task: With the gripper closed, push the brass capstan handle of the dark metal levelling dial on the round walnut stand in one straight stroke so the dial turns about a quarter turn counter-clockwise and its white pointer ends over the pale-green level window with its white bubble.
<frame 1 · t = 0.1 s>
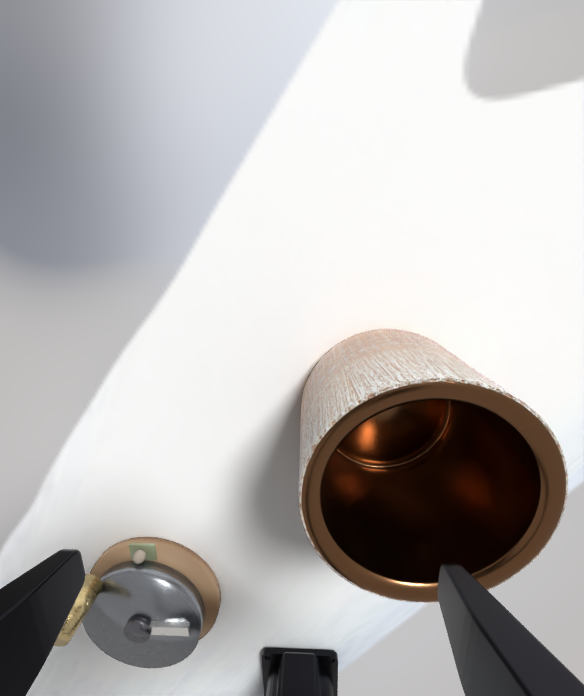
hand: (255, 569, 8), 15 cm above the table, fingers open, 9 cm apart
stand: (156, 590, 28), on the table
planter: (380, 402, 23), on the table
dial: (133, 639, 24), point 4 cm above the table, hinge at 0.0°
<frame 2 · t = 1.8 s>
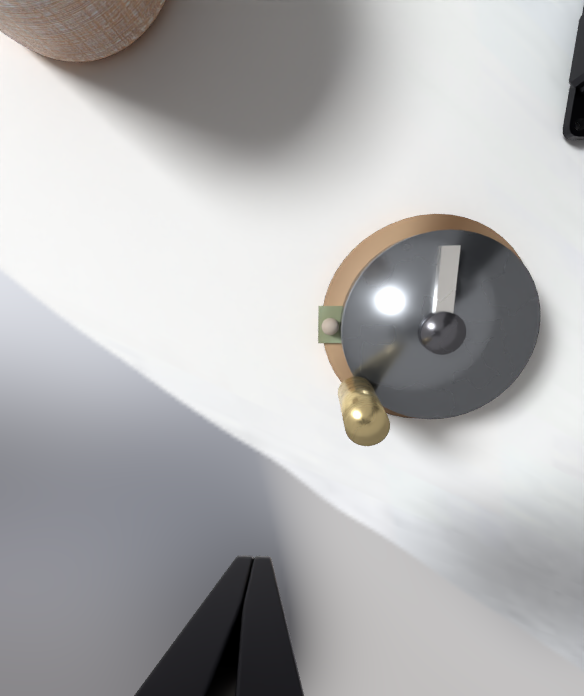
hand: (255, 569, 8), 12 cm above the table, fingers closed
stand: (420, 321, 18), on the table
dial: (446, 335, 15), point 4 cm above the table, hinge at 0.0°
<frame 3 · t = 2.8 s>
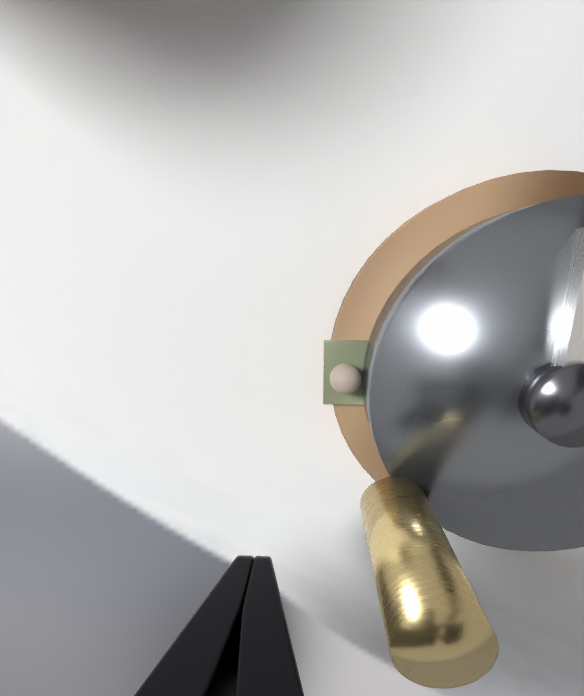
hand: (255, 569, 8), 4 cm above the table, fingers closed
stand: (499, 364, 11), on the table
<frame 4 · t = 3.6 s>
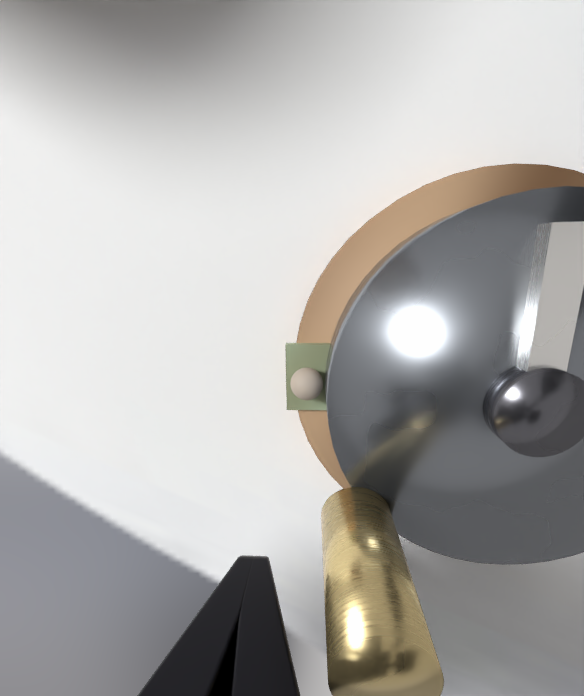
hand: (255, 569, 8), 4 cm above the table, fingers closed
stand: (471, 367, 10), on the table
dial: (558, 425, 7), point 4 cm above the table, hinge at 0.1°, touching gripper
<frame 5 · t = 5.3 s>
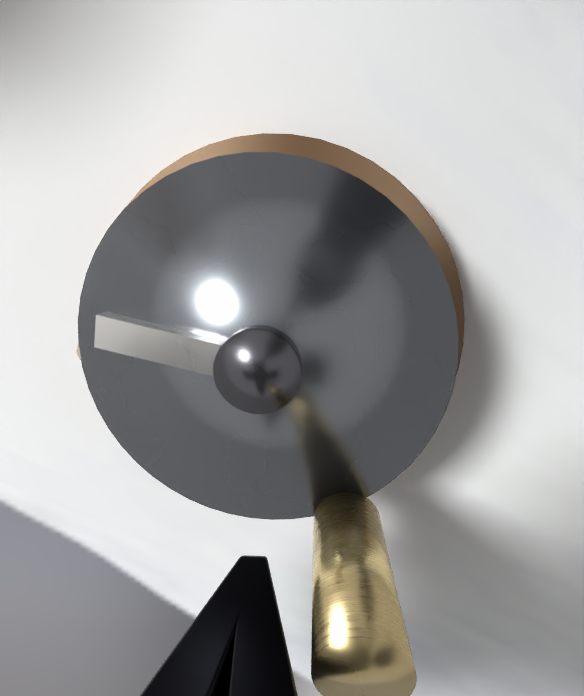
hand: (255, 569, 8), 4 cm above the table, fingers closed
stand: (274, 337, 11), on the table
dial: (251, 384, 7), point 4 cm above the table, hinge at 75.9°, touching gripper
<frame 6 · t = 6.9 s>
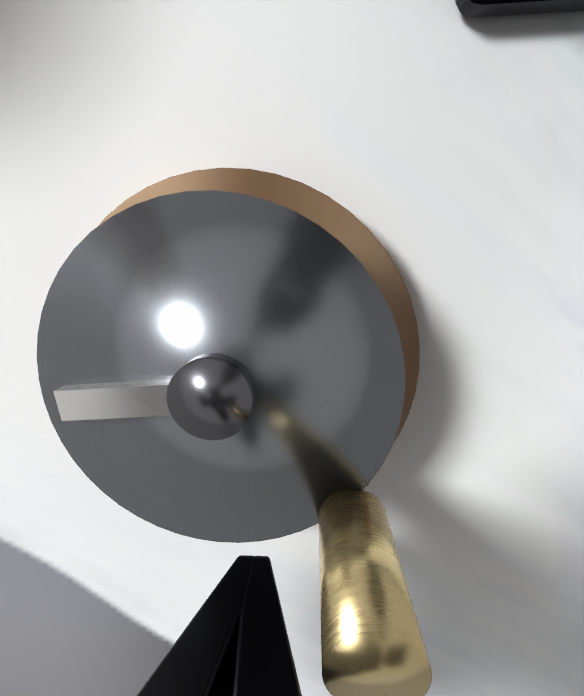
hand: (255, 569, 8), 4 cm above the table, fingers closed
stand: (239, 360, 11), on the table
dial: (202, 413, 7), point 4 cm above the table, hinge at 94.0°, touching gripper
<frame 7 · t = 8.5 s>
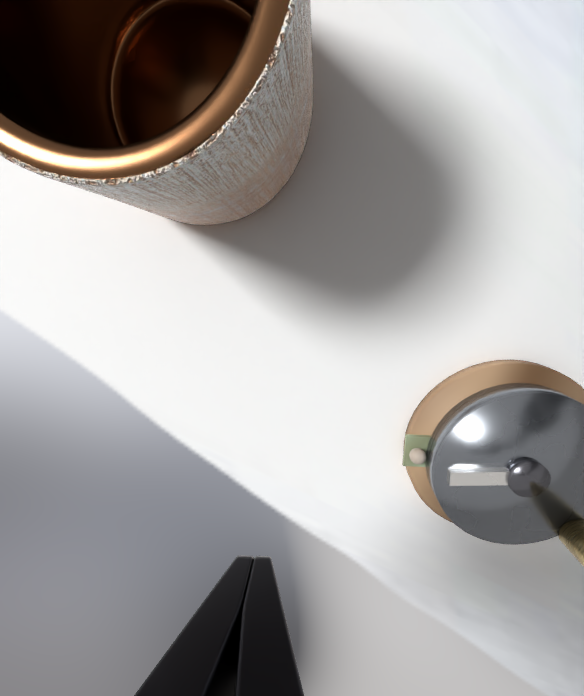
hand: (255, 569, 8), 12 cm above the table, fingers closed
stand: (495, 446, 20), on the table
planter: (206, 114, 17), on the table
dial: (535, 487, 16), point 4 cm above the table, hinge at 94.0°
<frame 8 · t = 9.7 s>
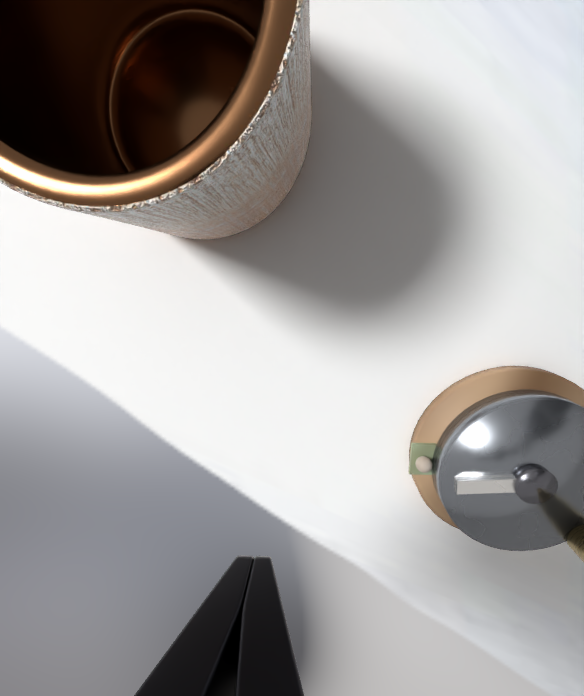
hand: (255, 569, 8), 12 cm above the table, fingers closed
stand: (501, 451, 20), on the table
planter: (204, 129, 17), on the table
dial: (543, 494, 16), point 4 cm above the table, hinge at 94.0°
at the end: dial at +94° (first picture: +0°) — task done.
